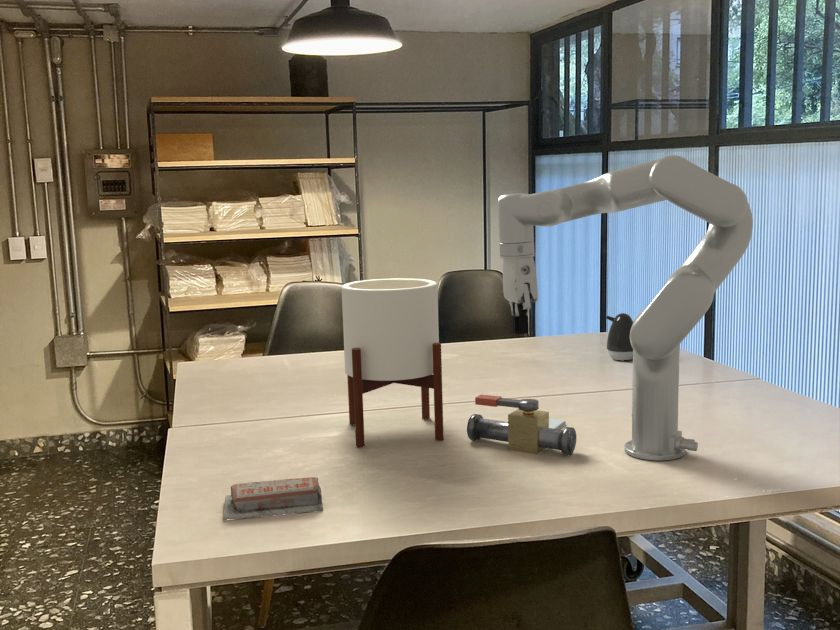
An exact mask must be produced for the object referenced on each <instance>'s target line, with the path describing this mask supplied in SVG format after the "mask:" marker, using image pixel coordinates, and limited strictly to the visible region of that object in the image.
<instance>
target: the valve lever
mask: <svg viewBox="0 0 840 630" xmlns="http://www.w3.org/2000/svg"><path fill="white" fill-rule="evenodd" d="M474 403H475V405H477V406H484V407H485V406H487V407H494V408H496V407H504V408H505V407H506V408H516V409H517V410H518V409H519V410H522V411H535V410H538V411H539V410H540V409H539V400H538V399H534V398H522V399H516V398H507V397H506V398H505V397H502V396H499V395H498V396H497V395H490V394H489V395H488V394H479V395H477V396H475V398H474Z"/></svg>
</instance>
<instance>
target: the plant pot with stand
mask: <svg viewBox="0 0 840 630" xmlns="http://www.w3.org/2000/svg"><path fill="white" fill-rule="evenodd" d="M438 289H439V287H438V283H437V282H436V281H435V280H431V279H427V278H426V279H425V278H410V277H409V278H407V277H406V278H405V277H404V278H402V277H401V278H400V277H399V278H398V277H395V278H375V279H364V280H356V281H352V282H351V281H350V282H347V283H344V284H343V285H342V286H341V305H342V307H341V308H342V330H343V351H344V352H343V353H344V372H345V375H347V397H348V400H347V401H348V415H349V416H348V420H349V422H348V423H349V425H350V424H355V425H354V433H355V434H354V435H355V447H356V446H357V447H356V448H364V447H365V445H366V444H365V443H366V442H365V424H364V423H365V422H364V421H365V420H364V419H365V418H364V401H363V399H364V398H363V397H364V394H366V393H369V392H372V391H375V390H378V389H380V388H384V387H386V386H389V385H391V384H392V385H393V384H396V385H397V384H399V385H404V386H405V385H406V386H412V387H418V388H419V387H420V395H421V399H420V400H421V419H422V420H430V419H431V415H430V414H431V413H430V411H431V410H430V389H433V407H434V409H433V410H434V411H433V412H434V440H435V441H439V442H440V441H444V409H443V406H444V404H443V371H442V369H443V367H442V366H443V365H442V363H443V362H442V342H440V336H439V335H440V330H439V328H440V326H439V299H438V298H439V297H438V295H439V294H438V292H439V291H438ZM363 446H364V447H363Z"/></svg>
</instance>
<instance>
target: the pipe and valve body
mask: <svg viewBox="0 0 840 630" xmlns="http://www.w3.org/2000/svg"><path fill="white" fill-rule="evenodd" d="M549 413H550V412H549V411H544V410H539V409H538V410H535V411H522V410H519V409H518V408H517V409H516V410H514V411H512V412H510V413H508V414H507V421H503V420H494V419H488V418H483V415H481V414H480V413H479V414H478V413H473V414H472V415H470V416H469V419H468V421H467V427H466V434H467V438H468V439H469V440H471V441H476V442H477V441H479V440H480V439H484V440H485V439H487V440H492V441H499V442H505V443H508V451H516V452H520V453H521V452H522V453H526V454H534V455H539V454H540V453H542V452H544V451H545V450H546V449H551V450H558V451H561V454H562V455H563V456H572V455H573V453H574V452H575V449H576V447H577V446H576V445H577V431H576V428H574V427H572V426H564V428H563V429H561V428H560V429H553V428H549V419H550V414H549Z"/></svg>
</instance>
